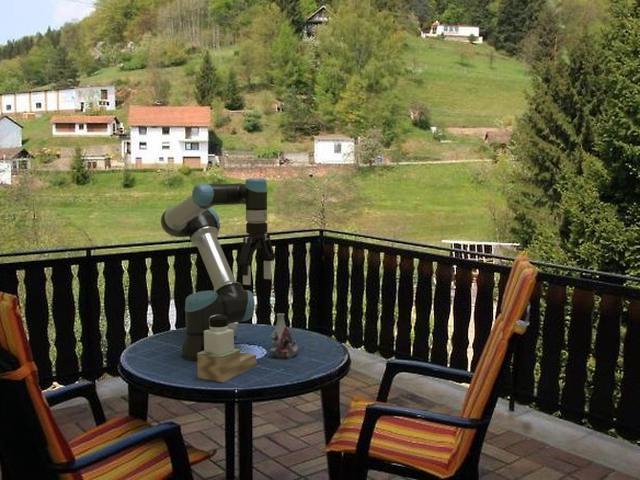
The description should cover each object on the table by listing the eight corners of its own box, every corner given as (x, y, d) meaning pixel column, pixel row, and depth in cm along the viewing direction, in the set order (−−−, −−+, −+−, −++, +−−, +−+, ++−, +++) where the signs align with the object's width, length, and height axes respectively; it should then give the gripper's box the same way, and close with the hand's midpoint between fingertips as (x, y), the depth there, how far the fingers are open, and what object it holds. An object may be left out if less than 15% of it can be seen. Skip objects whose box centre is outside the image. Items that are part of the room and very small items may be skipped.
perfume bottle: (229, 340, 258) (229, 311, 257) (210, 337, 263) (210, 309, 262) (240, 336, 264) (240, 308, 263) (222, 333, 269) (221, 305, 268)
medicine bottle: (234, 350, 212) (233, 315, 211) (218, 355, 207) (217, 319, 206) (220, 347, 217) (219, 312, 216) (203, 351, 211) (203, 316, 210)
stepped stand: (197, 377, 211) (197, 353, 210) (232, 362, 228) (232, 339, 228) (222, 382, 206) (222, 356, 205) (256, 365, 224) (256, 342, 223)
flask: (293, 337, 263) (292, 313, 262) (283, 341, 257) (282, 316, 256) (278, 335, 267) (278, 311, 266) (268, 338, 261) (268, 314, 260)
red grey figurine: (296, 355, 229) (277, 327, 230) (274, 370, 232) (255, 343, 234) (308, 347, 239) (290, 320, 241) (286, 362, 243) (269, 335, 245)
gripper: (245, 224, 213) (246, 287, 215) (283, 220, 235) (284, 277, 237) (227, 224, 216) (228, 286, 218) (266, 219, 238) (267, 275, 240)
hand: (257, 281), depth 228 cm, fingers open, 13 cm apart
